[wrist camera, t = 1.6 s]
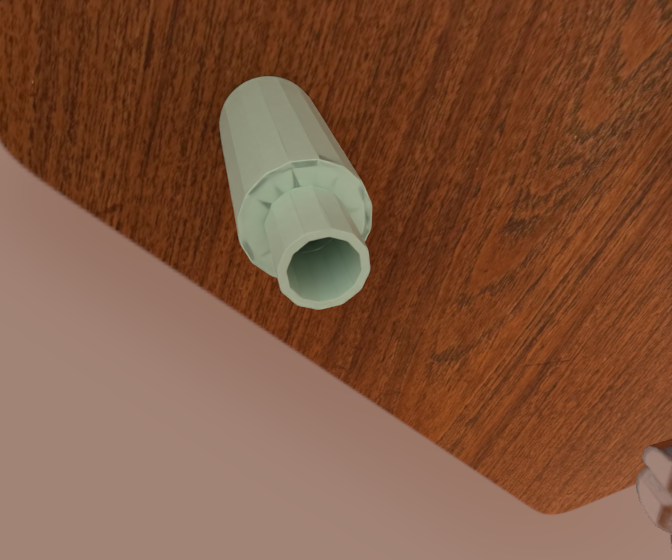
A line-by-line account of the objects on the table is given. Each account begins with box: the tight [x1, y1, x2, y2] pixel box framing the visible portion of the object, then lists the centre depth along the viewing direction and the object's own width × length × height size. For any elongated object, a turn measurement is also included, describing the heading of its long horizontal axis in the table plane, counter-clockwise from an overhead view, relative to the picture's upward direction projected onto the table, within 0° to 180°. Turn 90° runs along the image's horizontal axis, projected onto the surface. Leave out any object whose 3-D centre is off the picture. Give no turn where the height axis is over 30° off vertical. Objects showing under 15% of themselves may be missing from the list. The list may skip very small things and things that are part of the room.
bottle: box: [219, 76, 372, 310], centre depth 23 cm, size 5×5×13 cm
